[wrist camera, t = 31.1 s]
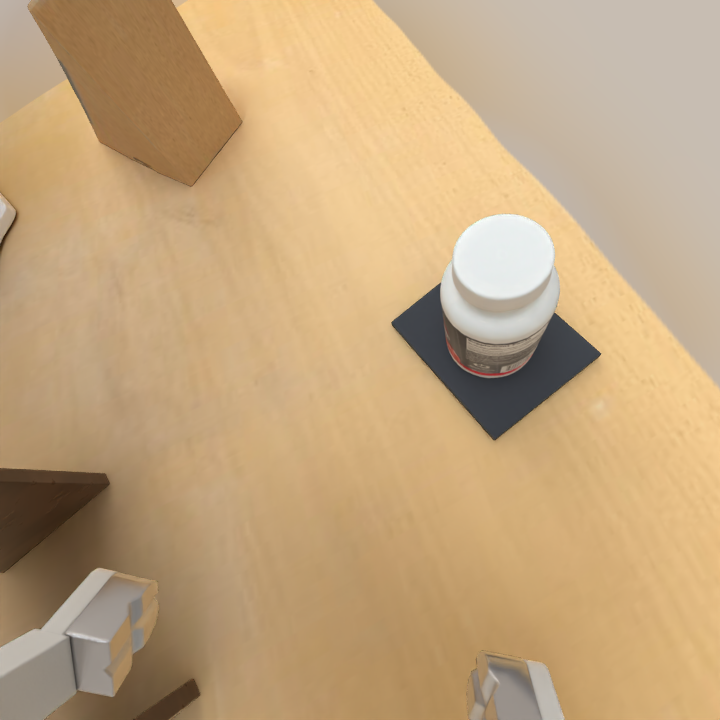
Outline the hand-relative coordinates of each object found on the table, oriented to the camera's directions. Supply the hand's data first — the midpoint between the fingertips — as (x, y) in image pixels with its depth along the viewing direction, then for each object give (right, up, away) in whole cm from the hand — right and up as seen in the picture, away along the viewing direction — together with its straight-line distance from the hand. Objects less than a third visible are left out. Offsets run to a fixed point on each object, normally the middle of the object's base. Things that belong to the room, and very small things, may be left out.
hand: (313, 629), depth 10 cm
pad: (+9, +8, +16) cm, 20 cm away
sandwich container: (-18, +30, +30) cm, 46 cm away
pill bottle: (+9, +8, +15) cm, 20 cm away
